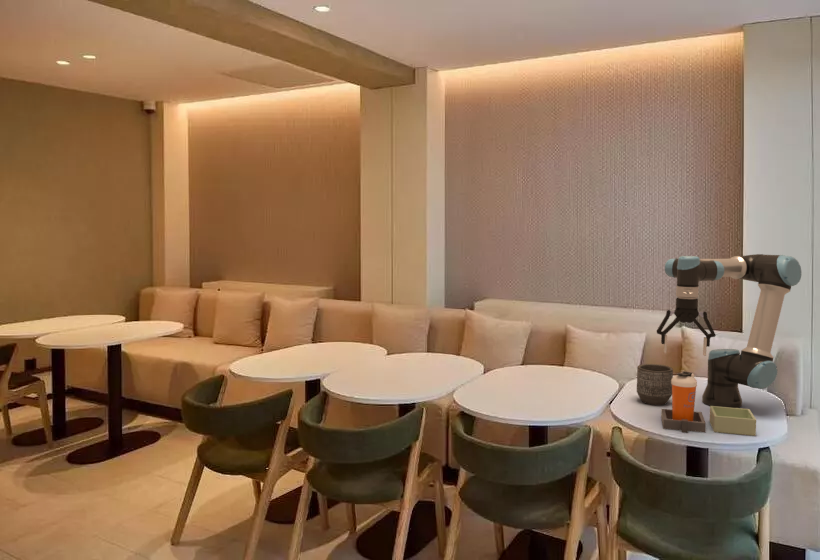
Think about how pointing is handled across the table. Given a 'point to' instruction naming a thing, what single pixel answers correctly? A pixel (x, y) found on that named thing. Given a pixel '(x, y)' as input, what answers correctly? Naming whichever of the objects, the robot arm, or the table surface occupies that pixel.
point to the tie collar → (683, 422)
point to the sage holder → (732, 421)
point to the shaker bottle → (683, 396)
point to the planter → (654, 383)
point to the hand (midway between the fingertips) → (684, 353)
